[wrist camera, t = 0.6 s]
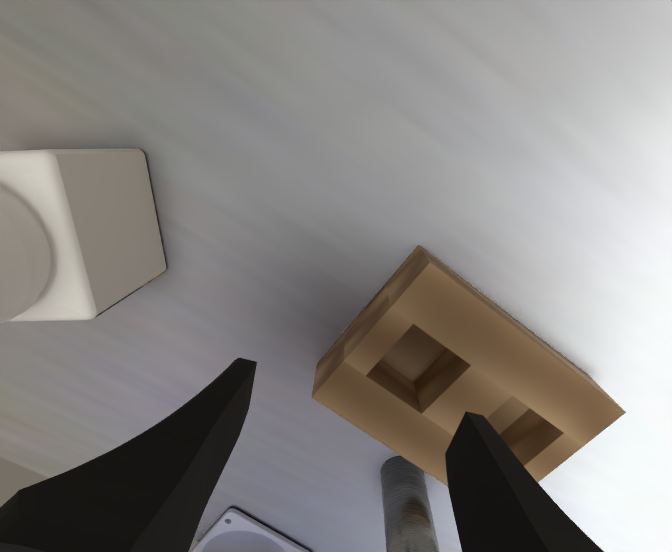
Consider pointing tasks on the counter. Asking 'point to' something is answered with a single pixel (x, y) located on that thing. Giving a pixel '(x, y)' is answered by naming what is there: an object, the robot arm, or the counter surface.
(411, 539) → the steel pin
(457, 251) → the counter surface
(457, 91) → the counter surface
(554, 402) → the hole block
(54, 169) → the medicine bottle
